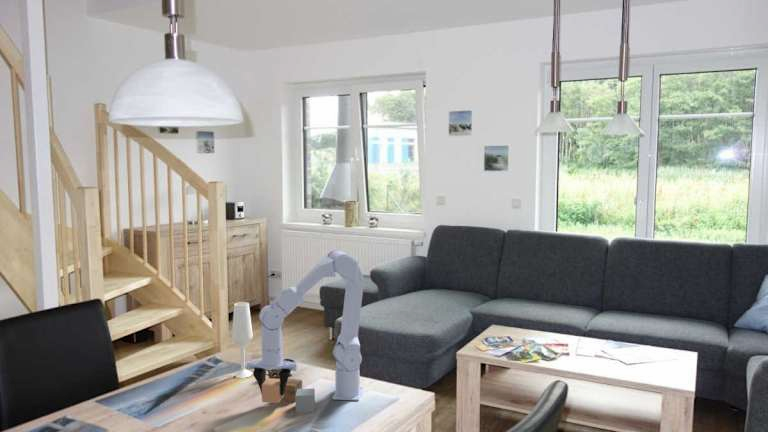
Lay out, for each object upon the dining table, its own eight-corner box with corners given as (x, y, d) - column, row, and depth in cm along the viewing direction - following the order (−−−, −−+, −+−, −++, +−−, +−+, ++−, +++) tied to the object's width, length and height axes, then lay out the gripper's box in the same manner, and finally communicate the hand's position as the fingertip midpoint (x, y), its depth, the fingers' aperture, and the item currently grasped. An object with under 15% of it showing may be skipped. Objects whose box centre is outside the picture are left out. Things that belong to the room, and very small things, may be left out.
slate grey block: (297, 405, 173) (297, 388, 172) (314, 405, 173) (314, 388, 172) (295, 412, 168) (295, 395, 167) (313, 412, 168) (313, 395, 167)
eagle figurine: (279, 382, 187) (300, 370, 193) (268, 362, 188) (290, 350, 194) (269, 389, 192) (290, 376, 198) (258, 369, 193) (280, 357, 199)
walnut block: (287, 394, 181) (286, 378, 180) (302, 395, 180) (302, 379, 179) (279, 400, 176) (279, 384, 176) (295, 402, 175) (295, 386, 174)
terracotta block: (267, 394, 174) (266, 378, 173) (284, 395, 173) (283, 378, 173) (262, 401, 169) (261, 384, 168) (279, 402, 168) (278, 385, 168)
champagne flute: (229, 374, 196) (227, 303, 194) (247, 369, 201) (245, 300, 198) (239, 380, 192) (237, 307, 189) (257, 375, 196) (256, 304, 194)
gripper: (242, 351, 166) (244, 398, 168) (293, 353, 165) (294, 400, 166) (250, 343, 173) (252, 388, 175) (299, 345, 172) (300, 390, 173)
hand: (273, 393), depth 171 cm, fingers closed on terracotta block, 5 cm apart
